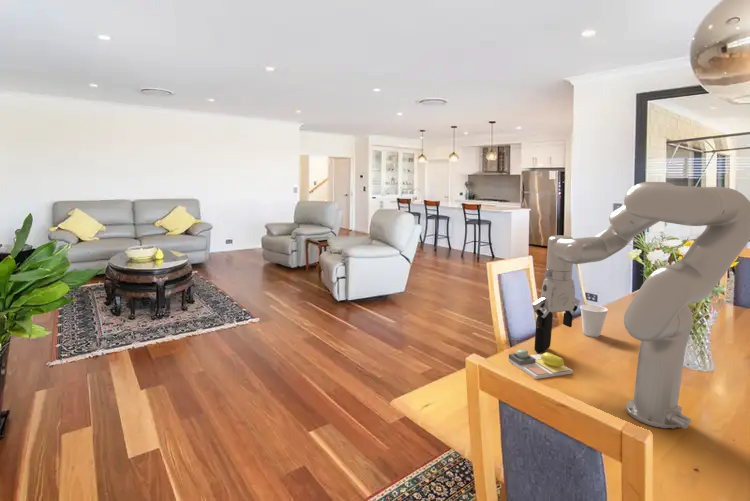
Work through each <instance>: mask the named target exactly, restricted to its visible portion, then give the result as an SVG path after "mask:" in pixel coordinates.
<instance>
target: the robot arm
mask: <svg viewBox="0 0 750 501" xmlns="http://www.w3.org/2000/svg"><path fill="white" fill-rule="evenodd" d="M608 220H609V223H610V226H609V227H607V228H606V229H604V230H603V231H601V232H600V233H598V234H596V235H595V236H591V237H579V238H573V237H572V236H570V235H559V234H558V235H551V236H549V237H548V240H547V252H546V266H545V267H546V268H545V272H543V277H544V279H543V282H542V286H541V291H540V298H539V299H537V300H536V301H535V302H533V303H532V308H533V310H534V312H535V313H536V315H537V316H539V318H538V327H539V328H541V329H543V330H546V327H547V318H546V316H547V314H548V313H549V312H552V313H562V312H563V319H562V320H563V321H562V324H563V325H564V326H565V327H568V328H572V326H573V317H574V315H575V314H576V313H575V312H576V311H577V309H578V307H579V305H580V304H581V300H580V299H578V298H576V291H575V289H576V288H575V281H574V279H572V276H573V264H574V265H581V264H587V263H588V264H589V263H596V262H601V261H604V260H606V259H608V258H610V257H611V256H612V255H614V254H616V253H618V252H620V251H621V250H623V249H624V248H625V247H626V246H627V245H629V243H631V241H632V240H633V239H634V238H635V237H636V236H638V235H639V234H641V233H643V232H644V231H645V230H647V229H649V228H650V227H651V228H652V226H654V225H656V224H657V223H659V222H663V223H668V224H669V223H670V224H673V225H674V224H675V225H681V226H682V225H683V226H689V227H701V226H706V228H705V229H704V230H703V232H702V233H701V234H700V235H699V236H698V237H697V238H696V239H695V240H694V241H693V242H692V243H691V245H690V246H689V249H688V250H687V251H686V252H685V254H684V255H683V257H682V258H681V259H680V260H679V261H678V262H677V263H674V264H673V263H672V264H669V265H664V266H661V267H658V268H657V269H655V270H654V271H652V273H650V274H649V275H648V276H647V278H646V279H645V281H644V282H643V283H642V284H641V286H640V288H639V290H638V291H637V293H636V294H635V295H634V296H633V299H631V301H630V302H629V304H628V306H627V308H626V310H625V312H624V315H623V324H624V328H625V330H626V332H627V333H628V334H629V335H630V336H631V337H633V338H634V339H635V340H637V341H640V346H639V352H638V356H637V357H638V359H637V367H636V375H635V382H634V383H635V384H634V391H633V392H634V393H633V399H632V400H628V401H627V402H626V404H625V411H626V412H627V414H629V416H631V417H632V418H633V419H635V420H637V421H638V422H640V423H643V424H645V425H648V426H651V427H656V428H659V427H660V429H667V428H672V429H677V428H676V427H678V428H682V429H684V430H686V429H688V428H689V426H690V424H691V421H692V420H691V418H690V417H688V416H686V415H684V414H683V413H682V410H683V407H682V406H680V405H679V399H680V393H681V392H680V391H681V382H682V376H683V369H684V368H683V367H684V363H685V362H684V361H685V355H686V354H685V353H686V349H687V344H688V341H689V337H690V334H691V332H692V328H693V324H694V315H693V312H692V310H691V308H690V307H689V305H690V304H695V303H698V302H701V301H704V300H705V299H707V298H708V297H709V296H710V295H711V293H712V292H713V290H714V289H715V288H716V286H717V285H718V284H719V282H720V281H721V280H722V278H723V277H724V276H725V275H726V273H727V272H728V271H729V269H730V267H731V266H732V265H733V263H734V262H735V260H736V259H737V258H738V257H739V256H740V254H741V253H742V251H744V249H745V248H746V246H747V245H748V243H749V242H750V200H749V199H748V198H747V197H746V196H745V195H744V194H743V193H742V192H740V191H738V190H736V189H733V188H730V187H726V186H725V187H724V186H687V185H686V186H685V185H675V184H673V183H671V182H665V181H643V182H640V183H637V184H635V185H633V186H632V187H630V189H628V191H627V192H626V193H625V195H624V199H623V204H622V205H621V206H619V207H618V208H616V209H615V210H613V211H612V212H611V213H610V215H609V218H608ZM543 312H544V313H543ZM679 426H680V427H679Z"/></svg>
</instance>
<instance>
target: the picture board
mask: <svg viewBox="0 0 750 501" xmlns="http://www.w3.org/2000/svg"><path fill="white" fill-rule="evenodd" d="M516 354H517V352H514V353H513V352H512V353H508V362H509V363H511V364H512V365H514V366H515V367H517V368H518V369H520V370H521V371H523V372H524V373H526V374H527V375H529V376H530V377H532V378H533V379H535V380H538V379H544V378H545V379H546V378H551V377H558V376H563V375H571V374H574V370H573V369H572V368H570V367H567V366H566V365H565V364H564V365H563V366H560V367H553V366H550V365H548V364H546V363H545V362H543V361H542V359H541V355H542V354H543V353H540V354H538V353H536V354H528V358H527V359H520V358H517V357H516Z"/></svg>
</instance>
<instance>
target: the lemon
mask: <svg viewBox="0 0 750 501" xmlns="http://www.w3.org/2000/svg"><path fill="white" fill-rule="evenodd" d="M541 354H542V355H541V359H542V361H543V362H545V363H546V364H548V365H550V366H553V367H560V366H563V365H564V366H565V360H564V359H563V358H562V357H560V356H558V355H555V354H554V353H552V352H548V351H546V352H542V353H541Z"/></svg>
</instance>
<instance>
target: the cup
mask: <svg viewBox="0 0 750 501" xmlns="http://www.w3.org/2000/svg"><path fill="white" fill-rule="evenodd" d="M579 307H580V315H581V325H582V326H581V327H582V334H583V335H585V336H587V337H591V338H598V337H600V336H601V333H602V330H603V326H604V323H605V320H606V316H607V313H608V311H609V309H608V308H606V307H605V306H601V305H597V304H596V305H595V304H581V305H580V306H579Z"/></svg>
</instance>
